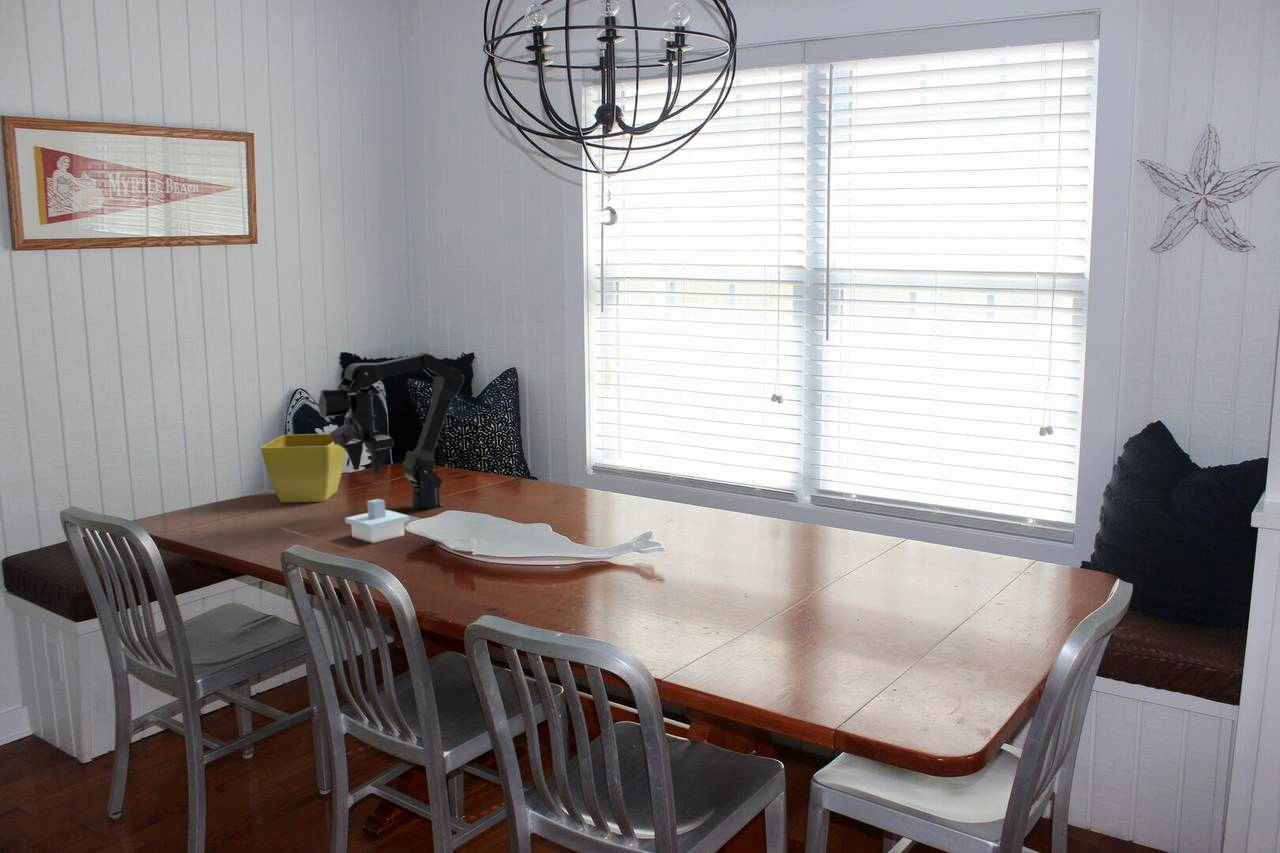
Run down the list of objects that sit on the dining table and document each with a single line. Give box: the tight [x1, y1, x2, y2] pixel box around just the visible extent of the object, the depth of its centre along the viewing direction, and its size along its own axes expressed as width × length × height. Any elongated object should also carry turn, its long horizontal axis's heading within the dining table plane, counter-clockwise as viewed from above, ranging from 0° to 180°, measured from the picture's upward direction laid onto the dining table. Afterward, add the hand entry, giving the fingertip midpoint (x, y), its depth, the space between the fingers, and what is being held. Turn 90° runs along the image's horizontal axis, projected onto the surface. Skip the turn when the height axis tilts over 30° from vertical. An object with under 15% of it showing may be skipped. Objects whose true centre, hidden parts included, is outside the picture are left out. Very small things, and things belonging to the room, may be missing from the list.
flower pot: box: [260, 433, 346, 503], centre depth 311 cm, size 19×19×17 cm
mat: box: [396, 511, 422, 526], centre depth 280 cm, size 13×13×1 cm
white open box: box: [350, 522, 405, 544], centre depth 266 cm, size 9×9×4 cm
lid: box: [344, 498, 410, 530], centre depth 265 cm, size 11×11×5 cm
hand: (366, 472), depth 283 cm, fingers open, 9 cm apart
